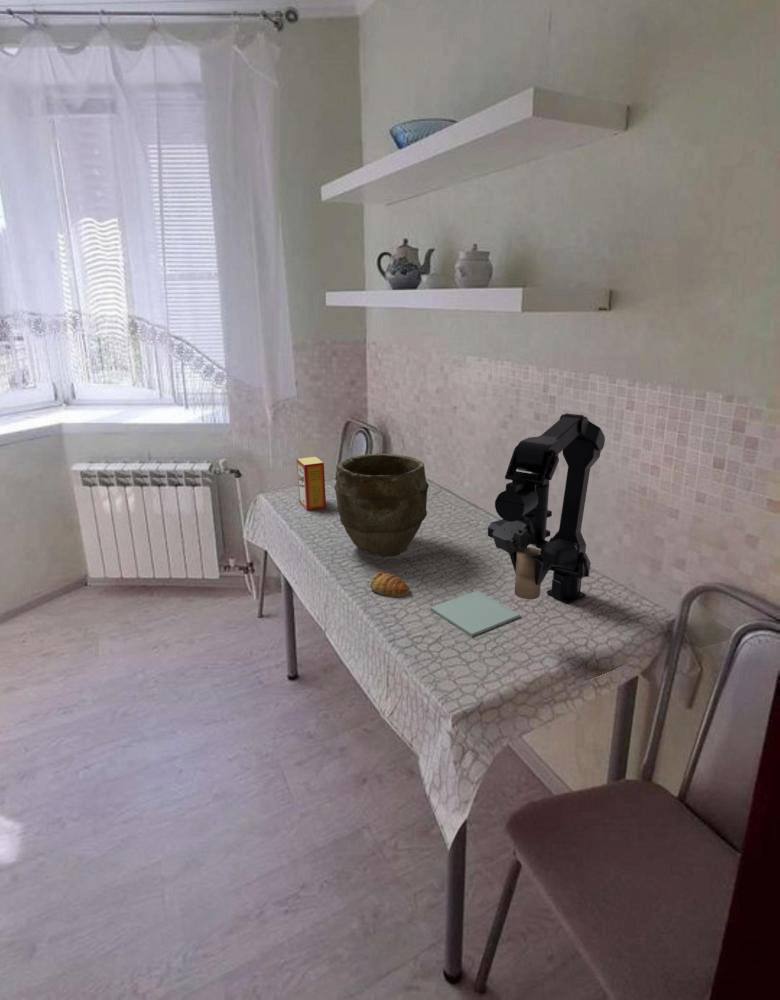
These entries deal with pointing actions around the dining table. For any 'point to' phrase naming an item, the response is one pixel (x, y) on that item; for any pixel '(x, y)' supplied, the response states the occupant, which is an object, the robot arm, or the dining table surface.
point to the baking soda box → (311, 483)
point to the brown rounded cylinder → (526, 574)
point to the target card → (474, 613)
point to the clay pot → (381, 501)
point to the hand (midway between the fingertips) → (528, 579)
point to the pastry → (389, 585)
